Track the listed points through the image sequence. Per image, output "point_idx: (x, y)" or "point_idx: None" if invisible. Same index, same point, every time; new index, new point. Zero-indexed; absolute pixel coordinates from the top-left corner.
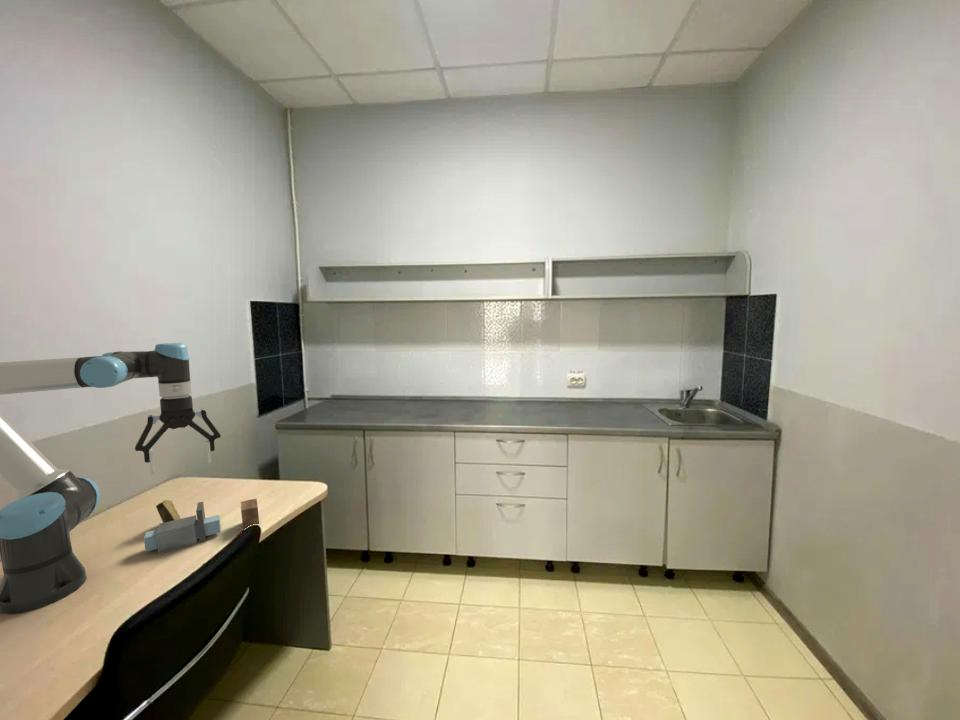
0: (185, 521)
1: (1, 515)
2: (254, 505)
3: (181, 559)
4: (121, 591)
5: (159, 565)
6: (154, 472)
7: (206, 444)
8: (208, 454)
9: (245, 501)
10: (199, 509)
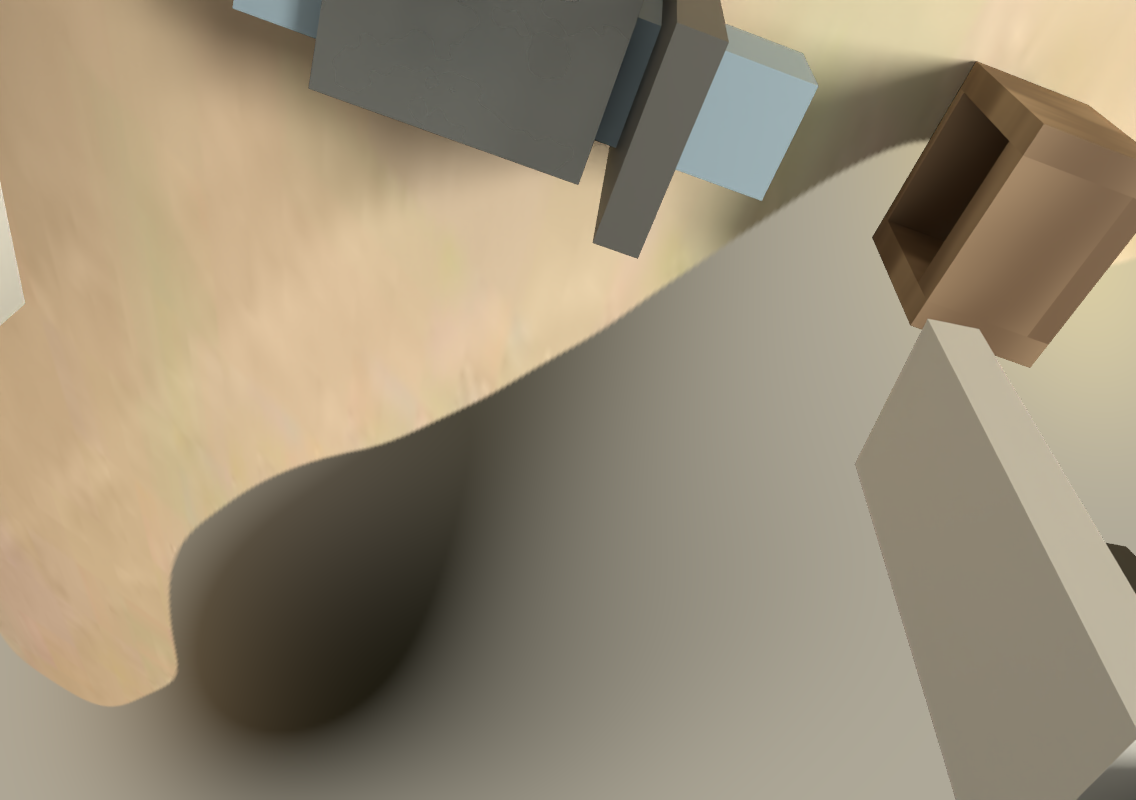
0: (539, 53)
1: None
2: (1038, 322)
3: (468, 256)
4: (190, 326)
5: (357, 217)
6: (12, 269)
7: (1027, 706)
8: (909, 596)
9: (1071, 158)
10: (624, 234)
